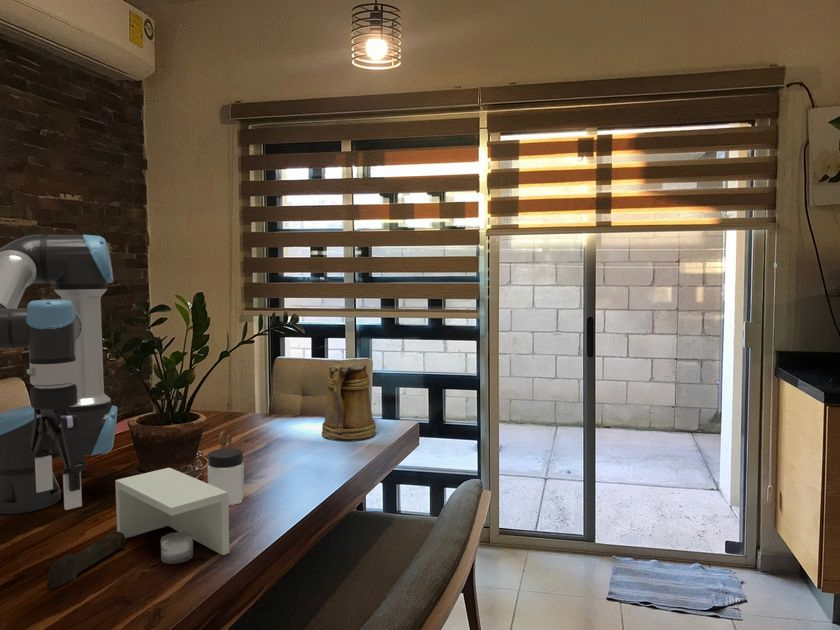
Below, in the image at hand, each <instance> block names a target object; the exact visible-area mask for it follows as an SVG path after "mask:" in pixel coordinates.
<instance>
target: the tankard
mask: <svg viewBox="0 0 840 630" xmlns="http://www.w3.org/2000/svg"><path fill="white" fill-rule="evenodd" d="M367 367H368V365H367V363H366V362H365V361H362V360H358V359H356V358H353V359H343V360H339V361H336V362H334V363H331V364H330V365H329V366H328V370H329V374H328V376H327V380H326V386H327V397H326V406H325V413H324V414H325V415H324V422H322V426H321V427H322V431H321V436H322V437H324V438H326V439H327V440H331V439H333V440H332V441H336V440H338V441H339V440H342V441H341V442H352V441H351V440H357V441H362V439H363V440H365V439H366V440H367V439H369V438H371V437H374V436H375V434H376V429H377V426H376V422H375V421H374V419H373V413H372V405H371V404H372V403H371V398H370V397H371V396H370V388H369V387H370V385H371V383H370V376H369V375H368V372H367Z"/></svg>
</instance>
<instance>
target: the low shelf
mask: <svg viewBox="0 0 840 630" xmlns="http://www.w3.org/2000/svg"><path fill="white" fill-rule="evenodd" d="M114 484H115V504H116V505H115V508H116V510H115V511H116V531H118V532H122V533H123V534H124V535H125V539H127V538H132V537H135V536H139V535H141V534H145V533H147V532H150V531H155V530H157V529H162V528H165V527H169V528H172V529H174V530H175V531H176V532H188V533H191V534H192V535H193V541H195V542H197V543H199V544H201V545H202V546H205V547H207V548H208V549H210V550H212V551H214V552H216V553H218V554H220V555H222V556H225V555H228V554H230V522H229V521H230V520H229V518H230V517H229V514H230V513H229V512H230V511H229V506H228V492H227V491H224V490H222V489H219V488H217V487H215V486H212V485H210V484H208V482H205V481H203V480H200V479H198V478H195V477H193V476H191V475H188V474H186V473H184V472H182V471H178V470H177V469H174V468H171V467H166V468H162V469H157V470H154V471H150V472H145V473H141V474H136V475H132V476H128V477H122V478H118V479H116V480H115V483H114Z"/></svg>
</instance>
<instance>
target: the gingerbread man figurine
mask: <svg viewBox="0 0 840 630" xmlns="http://www.w3.org/2000/svg"><path fill="white" fill-rule="evenodd" d="M232 440H233V438H232V435H231V434H228V432H227V431H225V430H223V431H220V434H219V438H218V441H219V445H218V446H217V448H216V450H218V449H226V448H230V446H231V445H232Z"/></svg>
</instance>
